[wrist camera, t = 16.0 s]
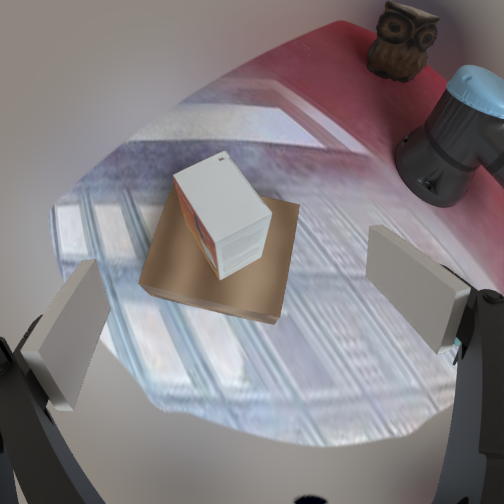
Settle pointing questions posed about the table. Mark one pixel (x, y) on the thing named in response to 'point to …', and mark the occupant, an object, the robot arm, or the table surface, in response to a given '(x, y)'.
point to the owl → (401, 42)
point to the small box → (223, 213)
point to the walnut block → (204, 278)
